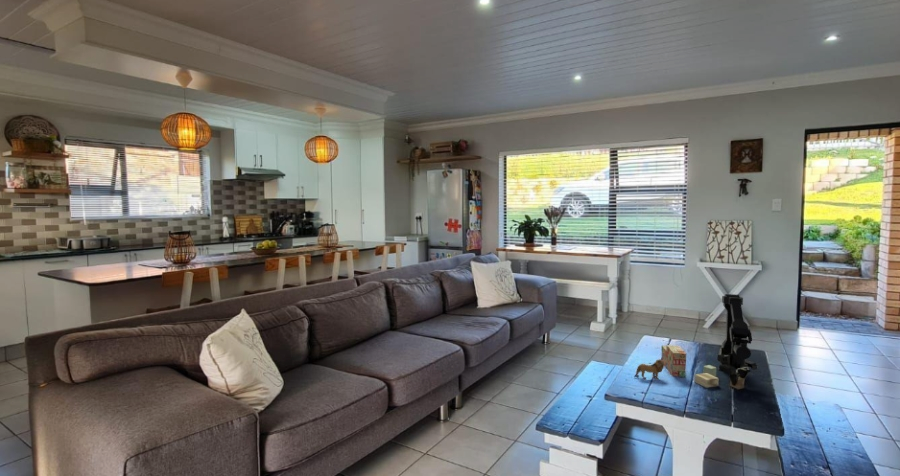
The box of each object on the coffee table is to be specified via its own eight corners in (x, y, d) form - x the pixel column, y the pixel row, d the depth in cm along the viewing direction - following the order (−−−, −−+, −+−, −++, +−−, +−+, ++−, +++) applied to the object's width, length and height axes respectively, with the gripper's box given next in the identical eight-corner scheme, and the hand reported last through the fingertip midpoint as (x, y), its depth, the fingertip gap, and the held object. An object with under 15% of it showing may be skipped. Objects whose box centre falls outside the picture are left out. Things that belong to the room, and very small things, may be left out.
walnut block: (735, 384, 215) (736, 375, 215) (743, 388, 212) (744, 378, 211) (729, 386, 214) (730, 376, 214) (738, 389, 210) (738, 379, 210)
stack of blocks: (660, 361, 247) (661, 339, 246) (673, 362, 246) (674, 340, 245) (672, 376, 226) (673, 352, 225) (685, 377, 225) (686, 353, 224)
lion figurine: (660, 375, 227) (661, 357, 227) (666, 379, 222) (666, 361, 221) (631, 375, 227) (632, 358, 226) (636, 380, 221) (637, 362, 221)
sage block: (708, 373, 230) (709, 365, 229) (715, 376, 226) (716, 367, 226) (703, 374, 228) (703, 366, 228) (710, 377, 224) (710, 368, 224)
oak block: (706, 380, 221) (706, 372, 221) (718, 386, 214) (718, 378, 214) (694, 382, 219) (694, 374, 219) (706, 388, 212) (706, 379, 212)
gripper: (735, 345, 223) (734, 375, 224) (708, 349, 216) (707, 381, 217) (758, 351, 212) (756, 384, 213) (731, 357, 205) (729, 390, 206)
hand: (737, 384), depth 213 cm, fingers closed on walnut block, 4 cm apart
